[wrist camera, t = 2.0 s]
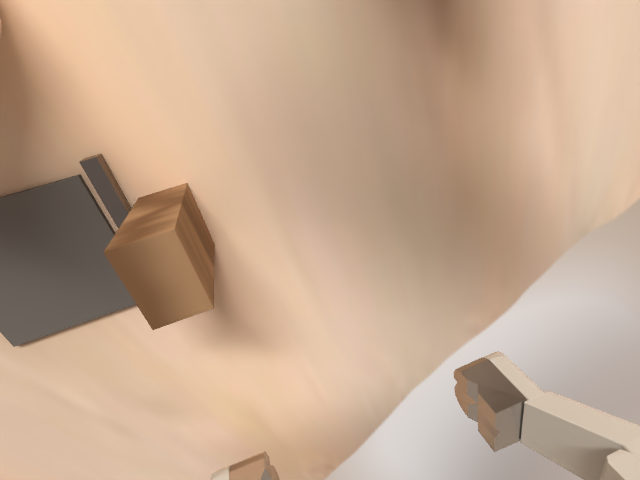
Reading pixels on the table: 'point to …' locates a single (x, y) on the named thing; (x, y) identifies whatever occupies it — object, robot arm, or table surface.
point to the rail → (106, 187)
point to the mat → (55, 261)
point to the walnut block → (165, 257)
